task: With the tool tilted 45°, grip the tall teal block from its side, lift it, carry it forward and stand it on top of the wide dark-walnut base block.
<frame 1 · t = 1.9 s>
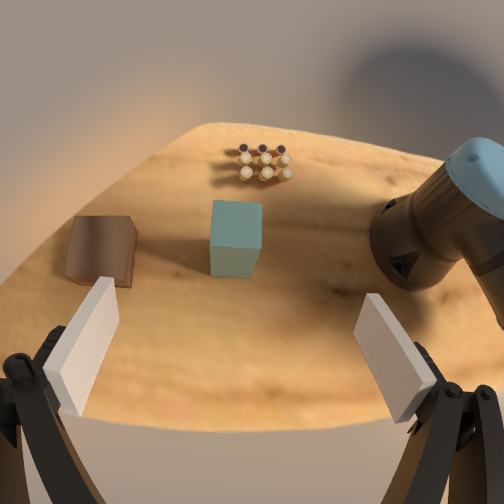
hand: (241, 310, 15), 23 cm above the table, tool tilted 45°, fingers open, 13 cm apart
teal block: (231, 259, 41), on the table
walnut base: (107, 258, 39), on the table
ammunition: (261, 171, 46), on the table
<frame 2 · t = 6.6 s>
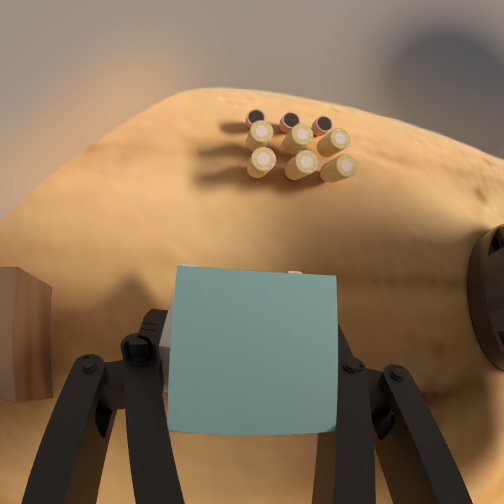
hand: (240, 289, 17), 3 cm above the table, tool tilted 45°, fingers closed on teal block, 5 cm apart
teal block: (233, 357, 19), on the table, touching gripper
walnut base: (11, 338, 17), on the table
ammunition: (287, 162, 25), on the table
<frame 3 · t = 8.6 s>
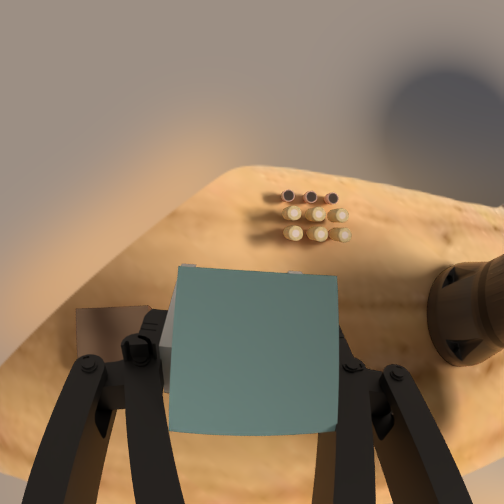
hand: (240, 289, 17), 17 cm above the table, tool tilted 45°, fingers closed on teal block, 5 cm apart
teal block: (234, 357, 19), point 14 cm above the table, touching gripper
walnut base: (126, 349, 31), on the table
ammunition: (307, 224, 39), on the table
when the fingers open (9 cm above the table, at t = 10.8 s): teal block drops 1 cm, point 5 cm above the table.
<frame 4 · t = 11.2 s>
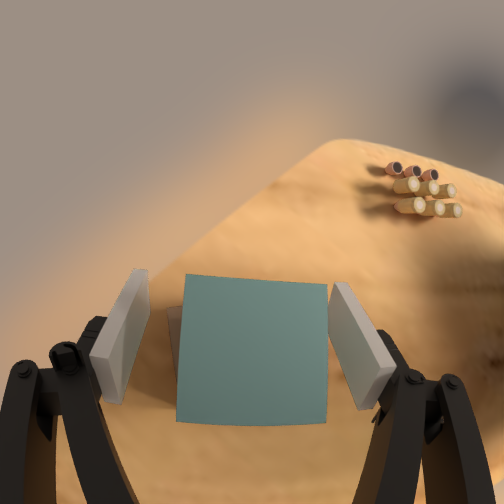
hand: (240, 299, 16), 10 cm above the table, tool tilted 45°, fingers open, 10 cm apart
teal block: (231, 358, 20), point 5 cm above the table
walnut base: (229, 358, 25), on the table
ammunition: (411, 200, 33), on the table
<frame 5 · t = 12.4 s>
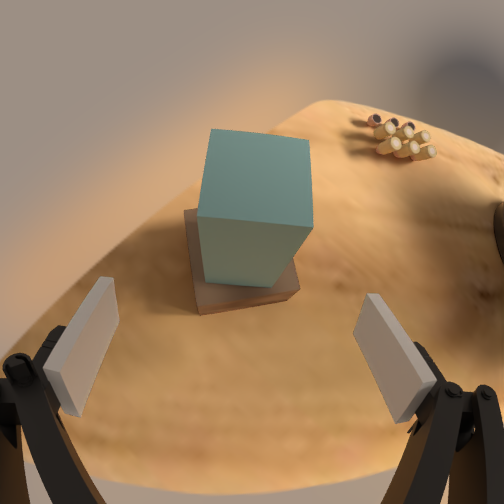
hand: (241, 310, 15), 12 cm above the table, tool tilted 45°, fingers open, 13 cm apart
teal block: (240, 254, 24), point 5 cm above the table, touching walnut base
walnut base: (235, 267, 29), on the table, touching teal block
ammunition: (391, 148, 37), on the table
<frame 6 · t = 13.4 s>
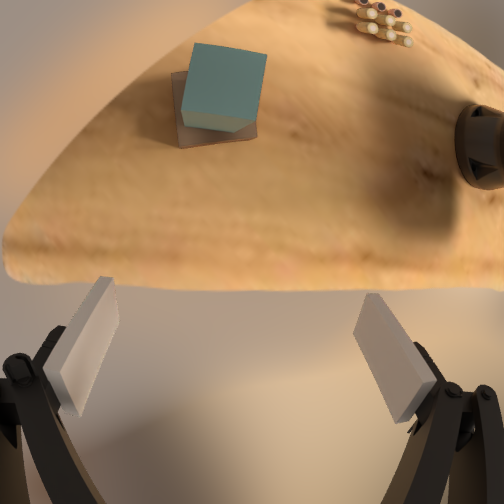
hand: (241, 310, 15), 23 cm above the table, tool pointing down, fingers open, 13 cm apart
teal block: (213, 105, 28), point 5 cm above the table
walnut base: (211, 111, 33), on the table
ammunition: (373, 26, 32), on the table
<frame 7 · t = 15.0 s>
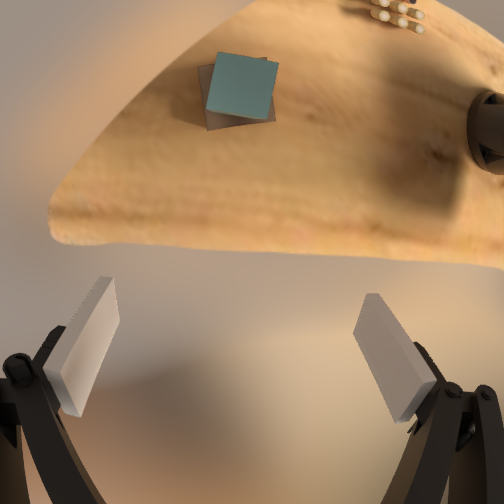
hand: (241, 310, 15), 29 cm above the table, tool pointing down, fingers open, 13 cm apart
teal block: (237, 95, 32), point 5 cm above the table
walnut base: (236, 95, 36), on the table
ammunition: (388, 11, 31), on the table
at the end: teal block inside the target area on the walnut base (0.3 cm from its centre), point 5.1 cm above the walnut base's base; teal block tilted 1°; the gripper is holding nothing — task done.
